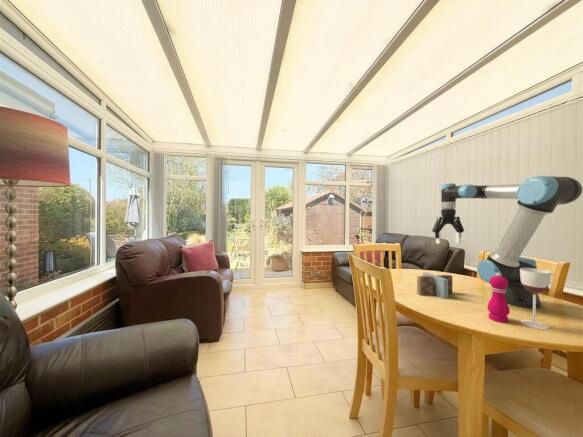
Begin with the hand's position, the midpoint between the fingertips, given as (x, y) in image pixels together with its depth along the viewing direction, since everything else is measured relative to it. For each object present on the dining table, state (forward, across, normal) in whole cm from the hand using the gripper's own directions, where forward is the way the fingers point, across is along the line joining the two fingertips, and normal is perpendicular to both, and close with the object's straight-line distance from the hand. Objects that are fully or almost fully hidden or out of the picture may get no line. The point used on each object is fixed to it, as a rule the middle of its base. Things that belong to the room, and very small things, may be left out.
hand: (448, 243), depth 148 cm
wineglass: (+27, +6, +51) cm, 58 cm away
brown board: (+27, +18, +11) cm, 34 cm away
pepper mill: (+27, +16, +45) cm, 55 cm away
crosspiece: (+27, +18, +11) cm, 34 cm away
